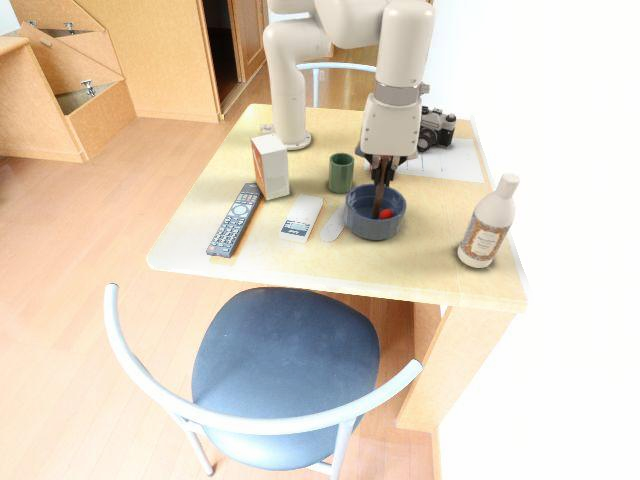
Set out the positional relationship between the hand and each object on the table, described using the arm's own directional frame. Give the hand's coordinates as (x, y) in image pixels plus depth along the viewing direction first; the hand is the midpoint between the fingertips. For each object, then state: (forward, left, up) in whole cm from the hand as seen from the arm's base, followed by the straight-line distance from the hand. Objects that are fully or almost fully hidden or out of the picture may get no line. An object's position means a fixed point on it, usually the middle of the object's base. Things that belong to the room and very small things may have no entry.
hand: (381, 182), depth 71 cm
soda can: (+3, +22, -13) cm, 26 cm away
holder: (-8, +15, -13) cm, 22 cm away
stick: (0, 0, -11) cm, 11 cm away
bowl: (0, +2, -13) cm, 13 cm away
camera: (+16, +39, -13) cm, 44 cm away
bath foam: (+21, -7, -13) cm, 25 cm away
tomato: (+3, +2, -11) cm, 11 cm away
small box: (-25, +12, -13) cm, 31 cm away
